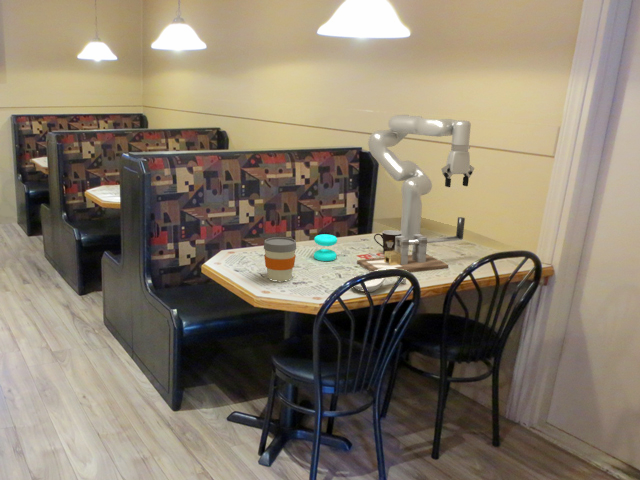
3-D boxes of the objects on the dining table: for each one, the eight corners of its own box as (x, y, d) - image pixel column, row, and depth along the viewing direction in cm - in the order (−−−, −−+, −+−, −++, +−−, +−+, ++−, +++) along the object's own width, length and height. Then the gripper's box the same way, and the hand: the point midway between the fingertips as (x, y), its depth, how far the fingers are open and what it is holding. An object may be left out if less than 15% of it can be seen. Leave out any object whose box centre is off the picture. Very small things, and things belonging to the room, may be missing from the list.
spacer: (384, 261, 249) (384, 251, 248) (394, 260, 251) (394, 250, 250) (390, 265, 244) (390, 254, 243) (400, 264, 246) (401, 253, 245)
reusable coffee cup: (301, 280, 227) (302, 243, 223) (273, 285, 221) (273, 247, 217) (285, 271, 237) (286, 235, 233) (257, 276, 231) (257, 239, 227)
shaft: (397, 244, 248) (399, 221, 246) (460, 239, 261) (462, 217, 258) (401, 246, 246) (403, 223, 243) (464, 240, 258) (466, 218, 256)
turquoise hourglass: (310, 234, 256) (329, 232, 261) (309, 257, 258) (328, 254, 263) (321, 240, 248) (341, 237, 253) (321, 263, 250) (340, 260, 255)
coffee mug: (403, 254, 268) (405, 232, 265) (392, 257, 261) (394, 235, 259) (383, 248, 275) (384, 228, 273) (371, 252, 269) (373, 230, 266)
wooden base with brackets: (357, 263, 251) (358, 235, 248) (424, 256, 265) (426, 229, 261) (377, 276, 235) (379, 246, 232) (448, 268, 249) (450, 239, 246)
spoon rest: (363, 297, 212) (364, 278, 210) (343, 287, 221) (344, 269, 219) (412, 286, 225) (413, 269, 223) (391, 278, 234) (393, 261, 232)
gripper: (470, 147, 271) (466, 184, 275) (438, 148, 264) (435, 185, 268) (480, 149, 264) (477, 186, 269) (448, 149, 257) (445, 188, 262)
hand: (456, 186), depth 268 cm, fingers open, 9 cm apart
